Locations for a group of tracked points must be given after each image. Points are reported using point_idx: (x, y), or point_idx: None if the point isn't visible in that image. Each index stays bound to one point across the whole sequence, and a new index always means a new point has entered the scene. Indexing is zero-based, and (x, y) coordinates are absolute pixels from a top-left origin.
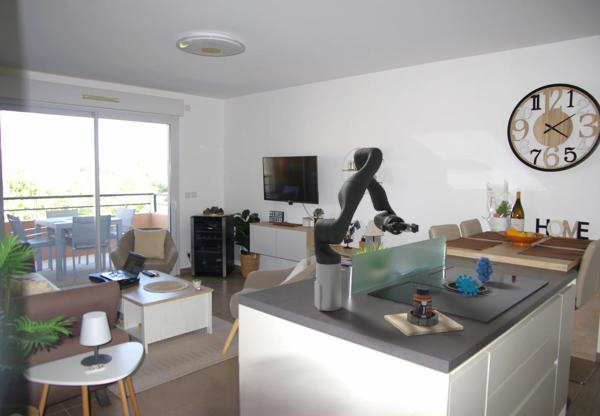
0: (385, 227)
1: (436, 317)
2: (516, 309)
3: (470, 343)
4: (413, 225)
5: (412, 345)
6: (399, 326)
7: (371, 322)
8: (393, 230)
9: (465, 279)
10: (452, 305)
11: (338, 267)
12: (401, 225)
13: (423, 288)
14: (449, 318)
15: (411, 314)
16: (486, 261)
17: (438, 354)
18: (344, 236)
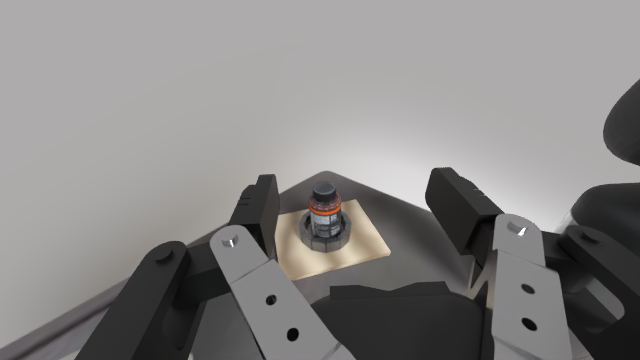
0: (547, 236)
1: (308, 211)
2: (80, 310)
3: (286, 191)
4: (229, 230)
5: (352, 186)
6: (364, 214)
7: (410, 238)
8: (429, 182)
9: None
10: (208, 341)
11: (563, 220)
12: (364, 291)
13: (324, 183)
14: (275, 241)
15: (344, 219)
16: None
17: (330, 175)
18: (622, 129)
